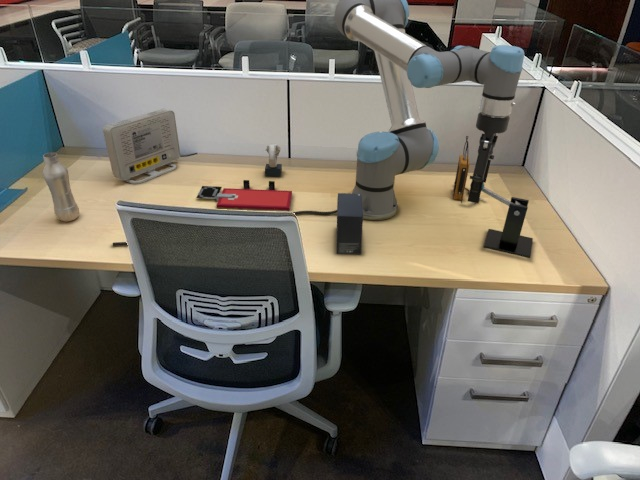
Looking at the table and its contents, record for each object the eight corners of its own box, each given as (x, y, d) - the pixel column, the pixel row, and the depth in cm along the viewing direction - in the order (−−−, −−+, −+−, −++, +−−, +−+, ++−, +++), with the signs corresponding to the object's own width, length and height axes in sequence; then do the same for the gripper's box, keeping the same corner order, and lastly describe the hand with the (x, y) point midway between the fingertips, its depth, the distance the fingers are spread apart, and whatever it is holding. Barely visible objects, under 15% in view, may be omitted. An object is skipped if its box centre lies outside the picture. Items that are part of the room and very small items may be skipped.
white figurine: (282, 169, 174) (281, 140, 168) (280, 179, 167) (279, 149, 161) (266, 169, 174) (265, 140, 168) (264, 178, 167) (263, 149, 161)
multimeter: (486, 208, 151) (500, 149, 141) (454, 205, 153) (465, 146, 142) (482, 189, 164) (494, 132, 153) (452, 186, 165) (462, 130, 155)
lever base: (482, 250, 131) (493, 205, 124) (487, 232, 139) (498, 190, 132) (529, 260, 127) (543, 215, 120) (531, 242, 135) (544, 199, 128)
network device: (171, 159, 181) (162, 106, 170) (186, 164, 176) (179, 111, 166) (111, 181, 163) (97, 124, 152) (126, 188, 159) (114, 130, 148)
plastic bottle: (57, 226, 138) (37, 161, 127) (56, 215, 143) (36, 152, 132) (82, 221, 140) (63, 157, 130) (80, 211, 145) (62, 149, 135)
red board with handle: (203, 185, 161) (192, 207, 148) (203, 178, 159) (191, 199, 147) (292, 189, 161) (289, 211, 148) (292, 181, 159) (289, 203, 147)
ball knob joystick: (466, 190, 128) (473, 179, 126) (468, 185, 131) (475, 174, 129) (518, 219, 126) (526, 208, 124) (519, 213, 129) (527, 202, 127)
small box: (335, 229, 139) (337, 192, 133) (359, 229, 139) (362, 192, 133) (335, 254, 128) (337, 215, 122) (361, 255, 128) (364, 216, 122)
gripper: (504, 131, 107) (484, 214, 118) (514, 102, 126) (496, 176, 137) (470, 126, 109) (454, 208, 121) (485, 98, 129) (470, 171, 140)
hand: (477, 191), depth 129 cm, fingers open, 13 cm apart
